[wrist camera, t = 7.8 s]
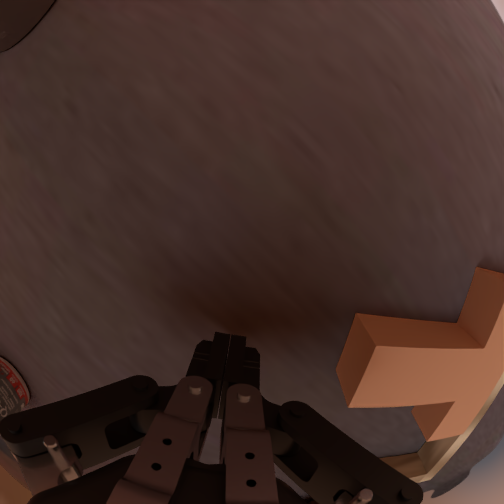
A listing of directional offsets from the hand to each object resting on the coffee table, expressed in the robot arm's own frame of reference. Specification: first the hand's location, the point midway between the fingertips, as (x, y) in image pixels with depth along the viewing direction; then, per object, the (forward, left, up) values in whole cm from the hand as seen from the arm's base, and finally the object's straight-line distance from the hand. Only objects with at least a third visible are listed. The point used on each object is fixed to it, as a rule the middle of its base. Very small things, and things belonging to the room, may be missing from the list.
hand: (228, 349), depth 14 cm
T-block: (0, +13, -2) cm, 13 cm away
